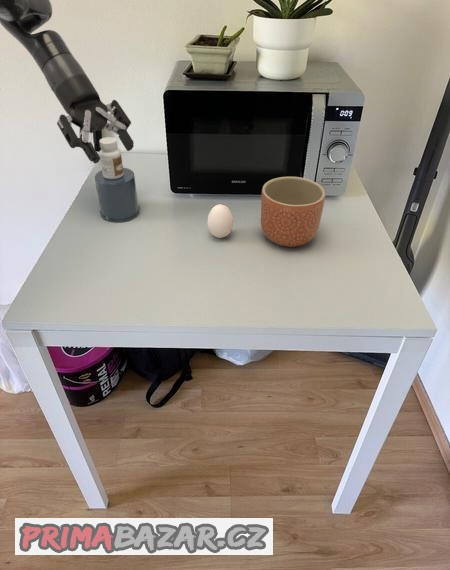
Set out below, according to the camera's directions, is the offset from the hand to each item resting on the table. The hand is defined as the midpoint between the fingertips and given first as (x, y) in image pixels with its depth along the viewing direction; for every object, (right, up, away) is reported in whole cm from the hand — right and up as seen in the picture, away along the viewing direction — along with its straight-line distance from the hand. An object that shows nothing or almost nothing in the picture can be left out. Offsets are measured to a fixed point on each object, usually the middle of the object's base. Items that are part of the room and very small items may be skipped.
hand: (114, 154), depth 91 cm
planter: (+36, -17, +2) cm, 40 cm away
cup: (-1, -10, +10) cm, 14 cm away
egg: (+22, -17, +3) cm, 27 cm away
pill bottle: (-1, -3, +4) cm, 5 cm away
